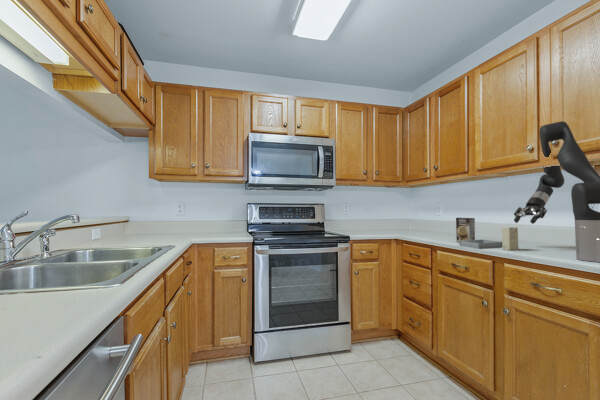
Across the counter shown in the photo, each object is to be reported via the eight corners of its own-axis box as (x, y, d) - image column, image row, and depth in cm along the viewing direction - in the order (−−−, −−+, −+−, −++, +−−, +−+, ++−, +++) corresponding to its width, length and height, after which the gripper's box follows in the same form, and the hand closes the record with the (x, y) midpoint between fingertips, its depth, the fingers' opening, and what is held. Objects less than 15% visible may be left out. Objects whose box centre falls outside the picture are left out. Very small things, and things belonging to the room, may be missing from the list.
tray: (503, 246, 160) (503, 241, 160) (478, 248, 155) (478, 243, 155) (482, 244, 172) (482, 239, 172) (459, 245, 167) (459, 240, 167)
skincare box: (510, 250, 147) (509, 227, 147) (502, 249, 151) (501, 227, 152) (519, 249, 149) (518, 227, 149) (510, 248, 153) (509, 226, 153)
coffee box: (456, 241, 186) (455, 217, 186) (462, 241, 189) (461, 217, 189) (469, 243, 178) (468, 218, 178) (475, 242, 181) (474, 217, 181)
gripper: (520, 197, 163) (506, 217, 159) (548, 196, 149) (533, 217, 146) (527, 206, 164) (514, 226, 161) (555, 205, 150) (541, 227, 147)
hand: (523, 222), depth 153 cm, fingers open, 8 cm apart
